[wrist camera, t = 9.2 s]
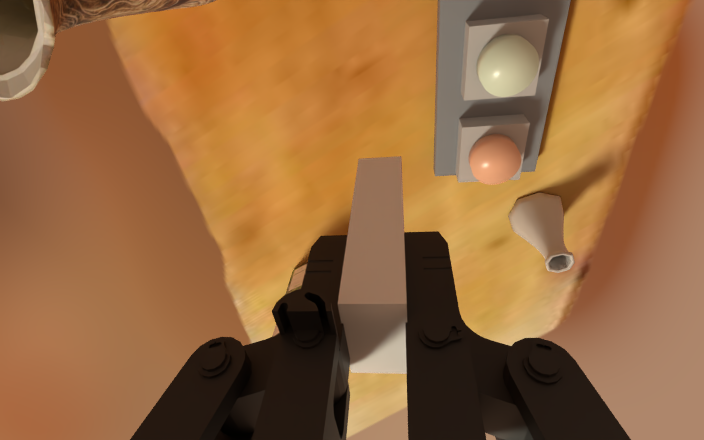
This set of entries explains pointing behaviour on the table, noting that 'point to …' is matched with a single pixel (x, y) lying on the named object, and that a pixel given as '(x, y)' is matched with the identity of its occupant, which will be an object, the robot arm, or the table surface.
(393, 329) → the robot arm
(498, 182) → the button terracotta
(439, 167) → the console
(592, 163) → the table surface
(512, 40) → the button sage
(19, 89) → the vase
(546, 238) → the flask
